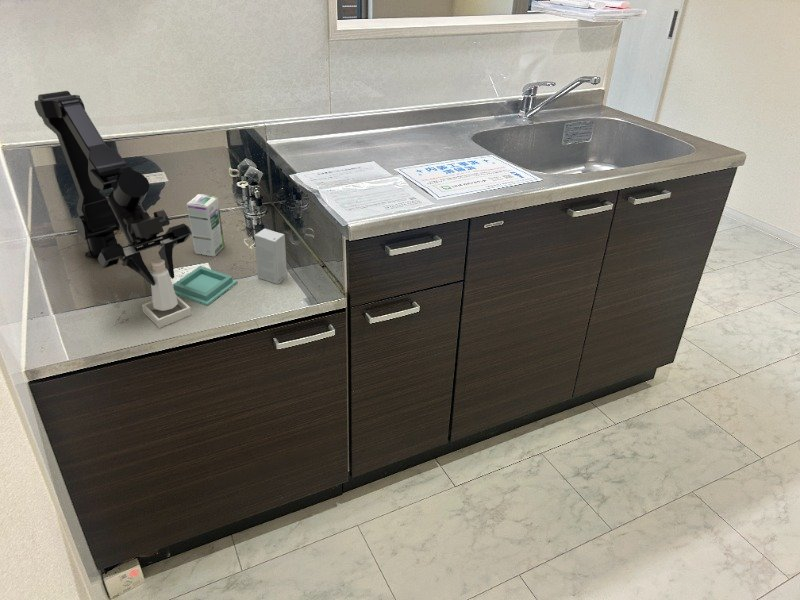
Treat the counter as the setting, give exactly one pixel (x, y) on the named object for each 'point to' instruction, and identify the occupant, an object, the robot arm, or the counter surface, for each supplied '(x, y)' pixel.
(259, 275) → the skincare box
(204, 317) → the counter surface
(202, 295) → the teal square tray
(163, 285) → the pepper shaker
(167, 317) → the white square tray
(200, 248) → the syrup box
